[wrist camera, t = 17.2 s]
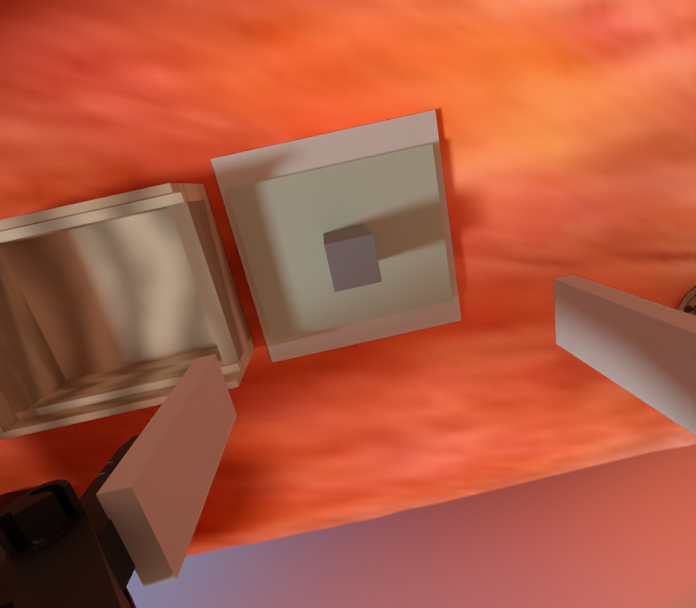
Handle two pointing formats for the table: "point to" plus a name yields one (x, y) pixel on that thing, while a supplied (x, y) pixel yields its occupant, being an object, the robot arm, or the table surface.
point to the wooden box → (113, 306)
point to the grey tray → (326, 154)
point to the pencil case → (689, 303)
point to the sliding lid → (345, 242)
